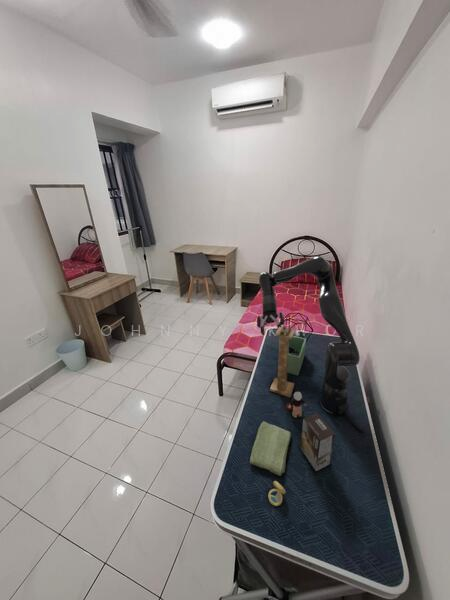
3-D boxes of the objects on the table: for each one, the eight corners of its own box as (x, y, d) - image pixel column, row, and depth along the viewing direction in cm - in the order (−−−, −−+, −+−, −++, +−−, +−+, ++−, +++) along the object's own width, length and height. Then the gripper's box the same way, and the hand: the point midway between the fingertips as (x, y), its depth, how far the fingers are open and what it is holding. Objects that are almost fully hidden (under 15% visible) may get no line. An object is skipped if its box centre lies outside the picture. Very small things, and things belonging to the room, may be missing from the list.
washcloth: (292, 434, 96) (292, 428, 94) (283, 479, 81) (283, 474, 80) (260, 423, 101) (260, 418, 99) (246, 464, 86) (246, 459, 85)
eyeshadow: (265, 497, 77) (265, 489, 75) (274, 485, 80) (275, 476, 78) (277, 509, 74) (277, 501, 72) (286, 495, 77) (286, 487, 75)
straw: (295, 354, 138) (297, 354, 138) (290, 369, 128) (292, 369, 127) (294, 352, 138) (297, 353, 137) (289, 367, 127) (292, 367, 127)
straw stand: (294, 385, 118) (299, 326, 103) (290, 397, 112) (295, 335, 97) (274, 379, 122) (276, 321, 107) (269, 390, 116) (271, 330, 101)
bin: (304, 355, 138) (306, 338, 133) (298, 375, 124) (299, 357, 119) (286, 351, 143) (287, 334, 137) (278, 370, 129) (278, 352, 124)
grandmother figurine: (300, 408, 106) (303, 387, 101) (306, 415, 103) (308, 393, 97) (285, 413, 104) (287, 392, 99) (290, 421, 101) (292, 399, 95)
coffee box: (330, 464, 85) (336, 434, 78) (315, 471, 83) (320, 442, 76) (313, 441, 92) (317, 412, 86) (299, 447, 91) (302, 418, 84)
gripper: (254, 305, 131) (255, 333, 124) (279, 300, 125) (282, 329, 117) (259, 310, 137) (260, 337, 130) (284, 305, 130) (286, 333, 123)
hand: (270, 333), depth 124 cm, fingers open, 8 cm apart
